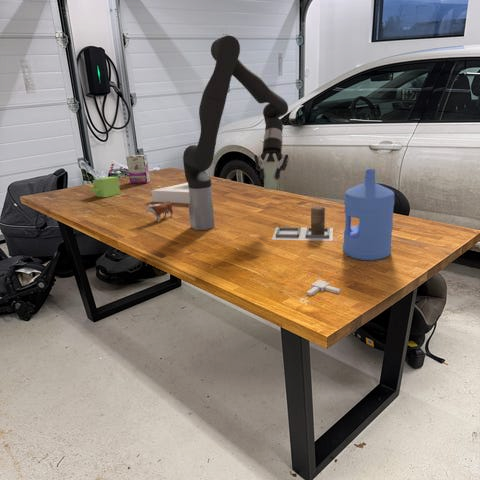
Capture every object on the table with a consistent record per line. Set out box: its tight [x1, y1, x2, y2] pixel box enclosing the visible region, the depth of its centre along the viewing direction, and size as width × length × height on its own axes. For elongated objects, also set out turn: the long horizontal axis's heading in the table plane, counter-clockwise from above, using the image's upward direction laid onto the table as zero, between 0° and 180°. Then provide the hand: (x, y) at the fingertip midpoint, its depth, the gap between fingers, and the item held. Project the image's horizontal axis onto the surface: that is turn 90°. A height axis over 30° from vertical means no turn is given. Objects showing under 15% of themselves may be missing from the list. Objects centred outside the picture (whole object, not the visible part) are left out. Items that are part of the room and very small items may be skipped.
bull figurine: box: [145, 201, 174, 223], centre depth 199 cm, size 4×13×8 cm, turn 137°
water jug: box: [342, 168, 395, 261], centre depth 148 cm, size 16×16×28 cm
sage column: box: [263, 161, 278, 191], centre depth 177 cm, size 5×5×10 cm
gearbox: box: [89, 176, 121, 198], centre depth 247 cm, size 18×10×10 cm, turn 143°
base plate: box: [271, 226, 334, 242], centre depth 171 cm, size 22×14×2 cm, turn 78°
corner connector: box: [306, 279, 341, 296], centre depth 128 cm, size 8×8×2 cm
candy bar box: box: [126, 154, 151, 185], centre depth 269 cm, size 11×5×16 cm, turn 80°
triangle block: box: [150, 182, 190, 205], centre depth 235 cm, size 30×26×6 cm
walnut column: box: [310, 205, 326, 235], centre depth 168 cm, size 5×5×10 cm
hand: (269, 178), depth 175 cm, fingers closed on sage column, 5 cm apart
